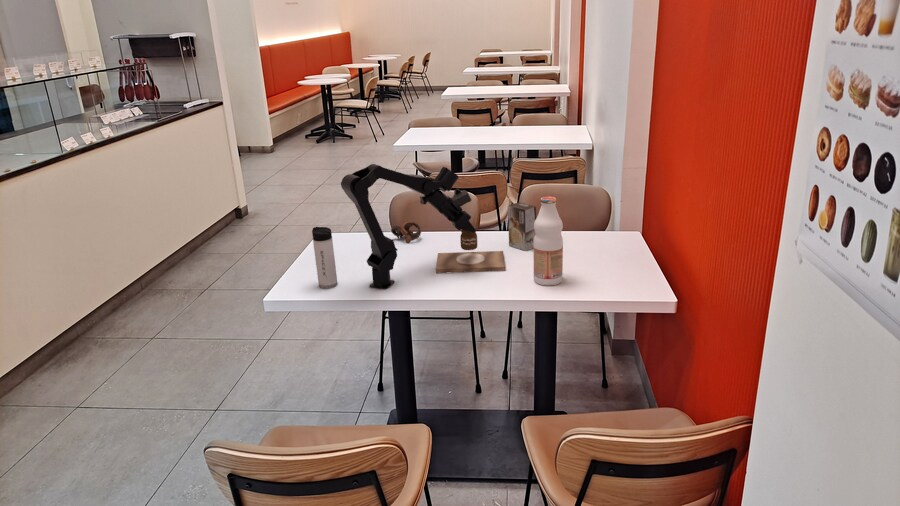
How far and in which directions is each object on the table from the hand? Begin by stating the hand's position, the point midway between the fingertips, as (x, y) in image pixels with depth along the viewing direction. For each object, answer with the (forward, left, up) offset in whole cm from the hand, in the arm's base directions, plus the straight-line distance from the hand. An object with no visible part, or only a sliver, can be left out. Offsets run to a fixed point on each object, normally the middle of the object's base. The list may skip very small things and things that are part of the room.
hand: (472, 229), depth 222 cm
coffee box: (+21, -12, -13) cm, 28 cm away
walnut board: (-1, +1, -13) cm, 13 cm away
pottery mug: (+18, +35, -13) cm, 42 cm away
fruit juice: (-9, -29, -13) cm, 33 cm away
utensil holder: (-1, +1, -7) cm, 7 cm away
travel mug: (-32, +41, -13) cm, 53 cm away
